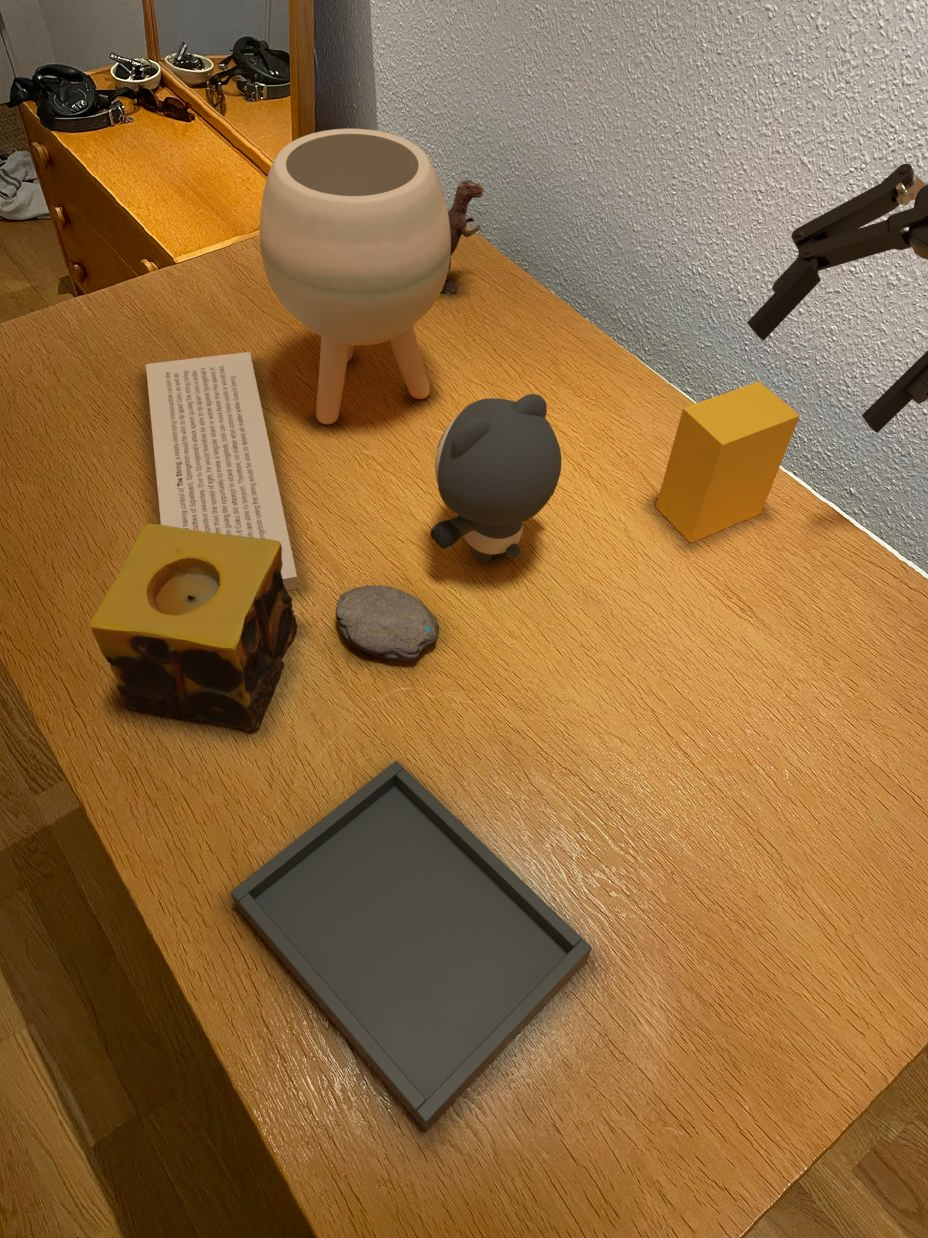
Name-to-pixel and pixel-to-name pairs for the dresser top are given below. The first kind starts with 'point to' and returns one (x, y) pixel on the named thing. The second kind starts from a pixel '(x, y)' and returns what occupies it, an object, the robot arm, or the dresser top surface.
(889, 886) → the dresser top surface
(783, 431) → the yellow block
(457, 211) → the dinosaur model
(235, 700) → the candle
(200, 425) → the plaque
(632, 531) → the dresser top surface
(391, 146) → the planter
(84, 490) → the dresser top surface
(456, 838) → the tray
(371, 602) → the stone
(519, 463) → the toy
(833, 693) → the dresser top surface
